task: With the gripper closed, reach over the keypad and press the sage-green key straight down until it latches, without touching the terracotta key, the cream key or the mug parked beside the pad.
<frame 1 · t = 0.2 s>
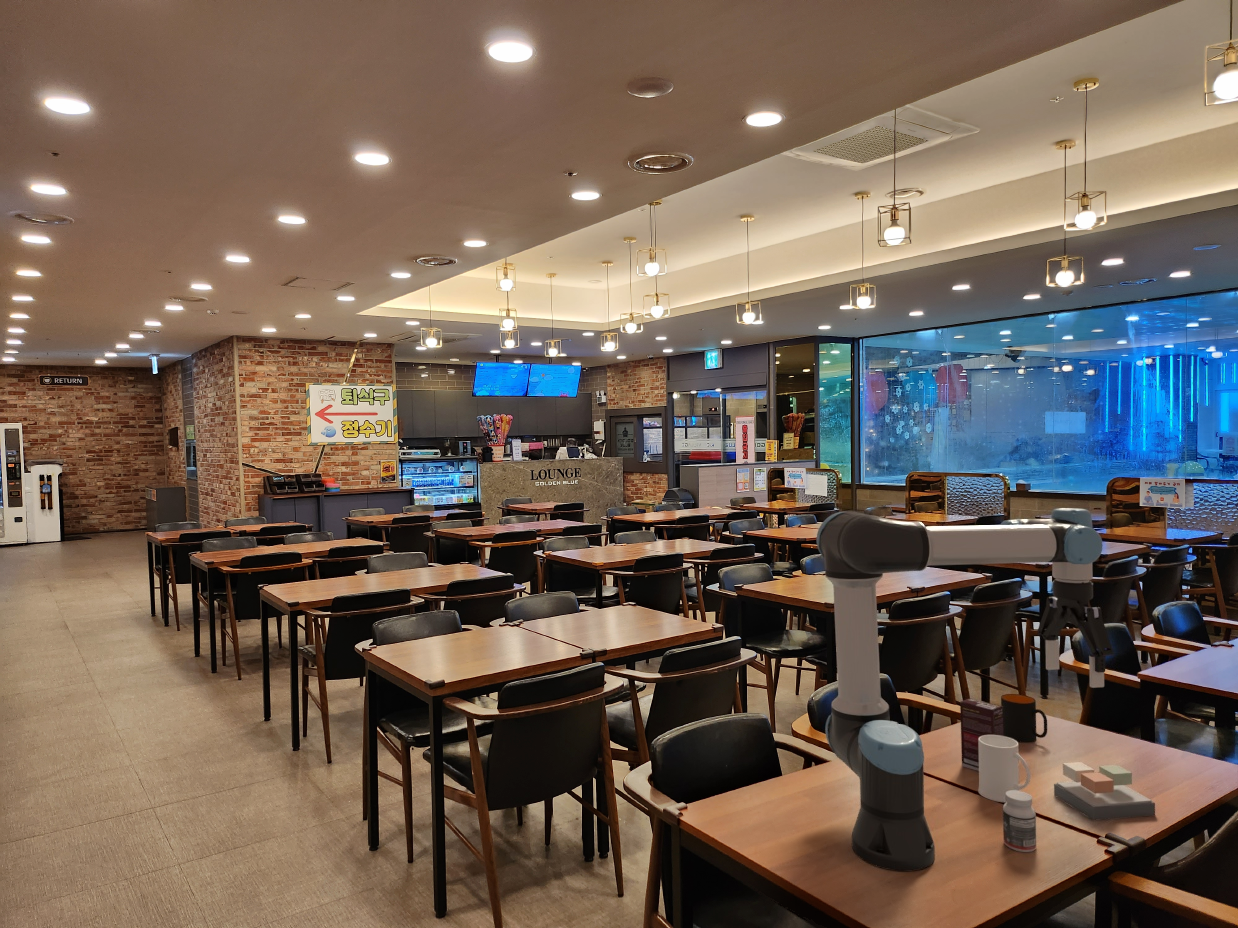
hand: (1073, 677, 168), 27 cm above the table, fingers open, 13 cm apart
mug 2: (1025, 739, 205), on the table
cream key: (1078, 777, 169), point 5 cm above the table, slide at 0.0 cm
sage key: (1115, 780, 167), point 5 cm above the table, slide at 0.0 cm
pill bottle: (1019, 846, 151), on the table
mug: (1005, 797, 172), on the table
supplement box: (982, 769, 187), on the table
keypad: (1103, 804, 167), on the table
terracotta key: (1097, 788, 163), point 5 cm above the table, slide at 0.0 cm
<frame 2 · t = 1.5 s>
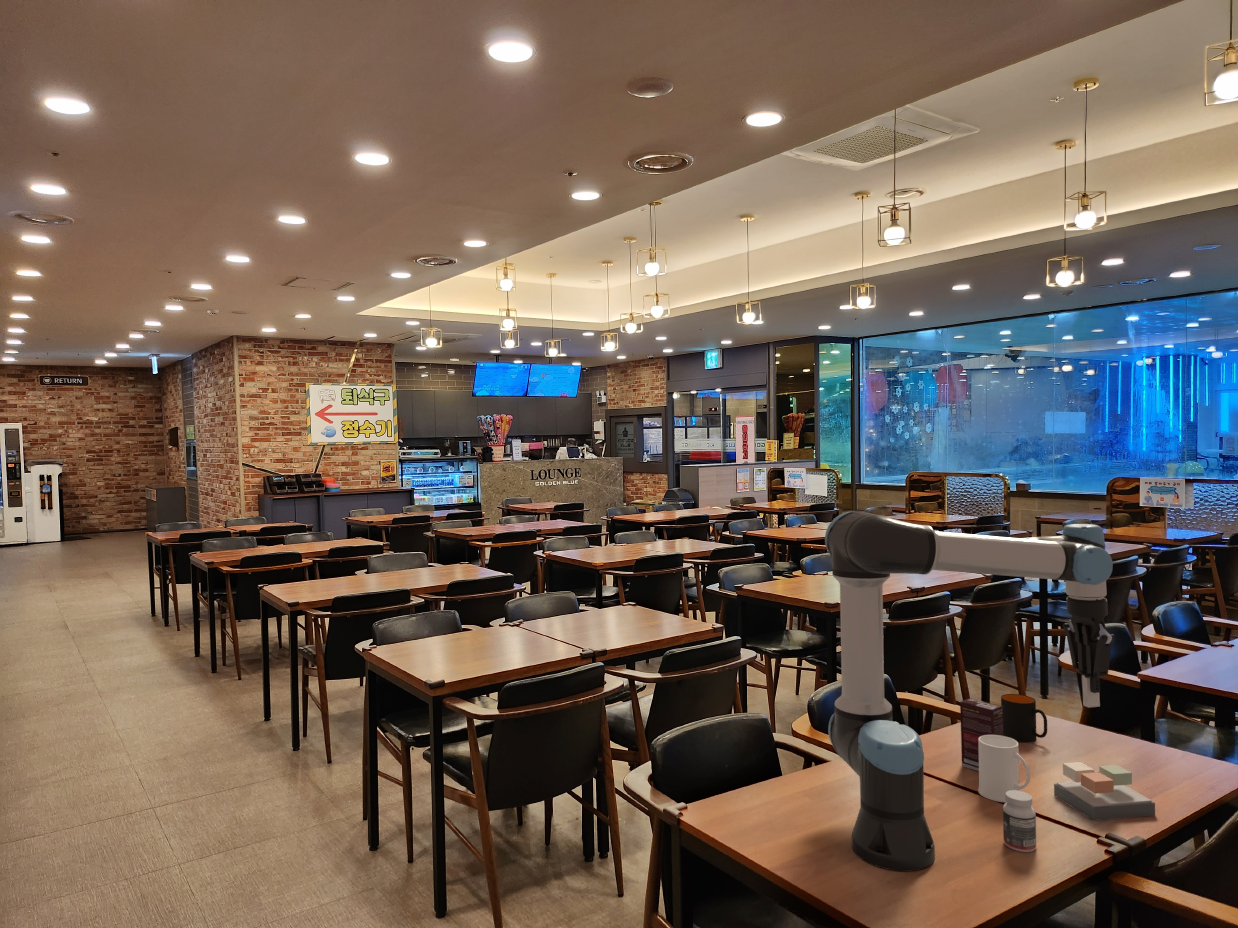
hand: (1091, 705, 166), 22 cm above the table, fingers closed
nothing on the table moved.
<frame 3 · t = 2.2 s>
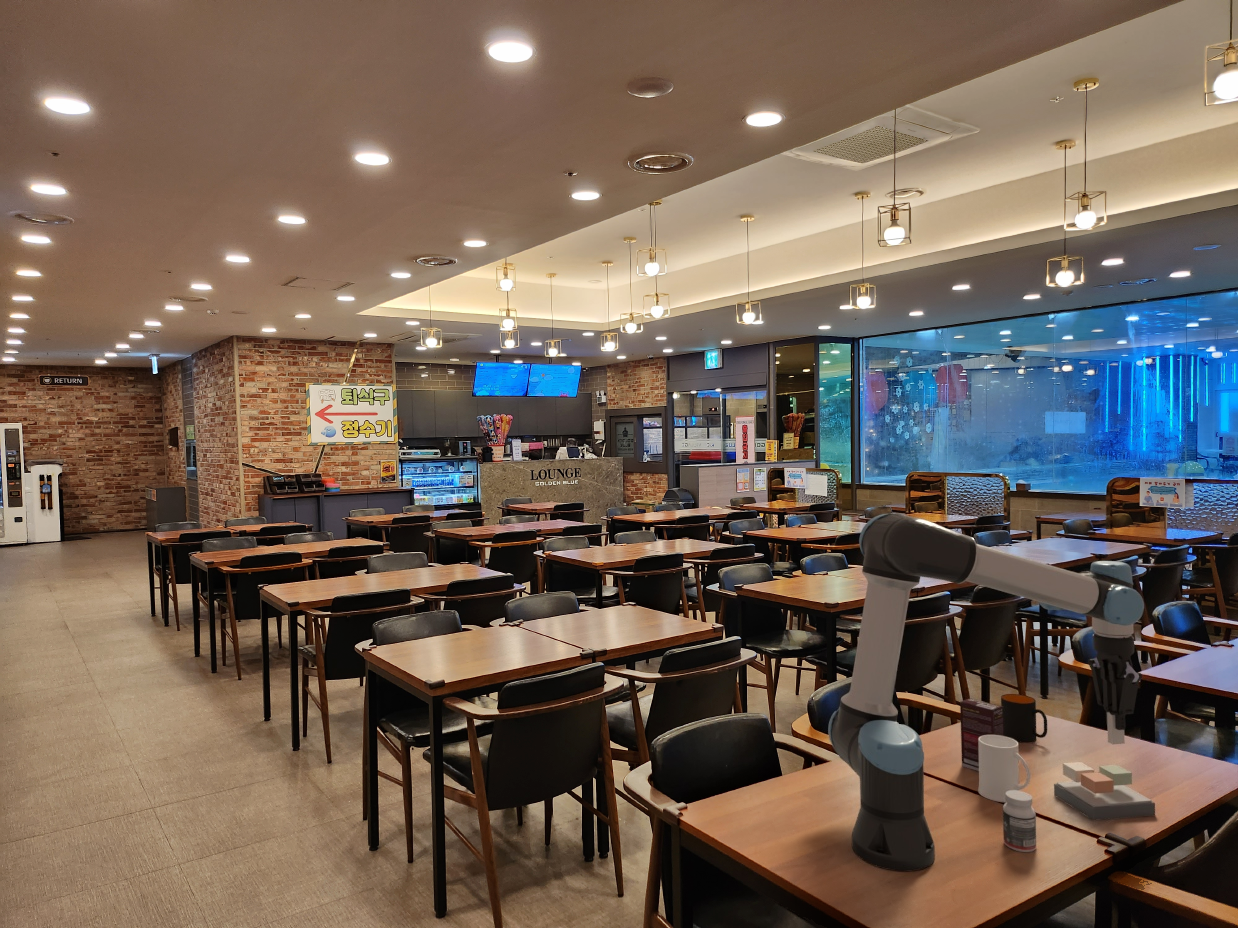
hand: (1116, 742, 167), 13 cm above the table, fingers closed
nothing on the table moved.
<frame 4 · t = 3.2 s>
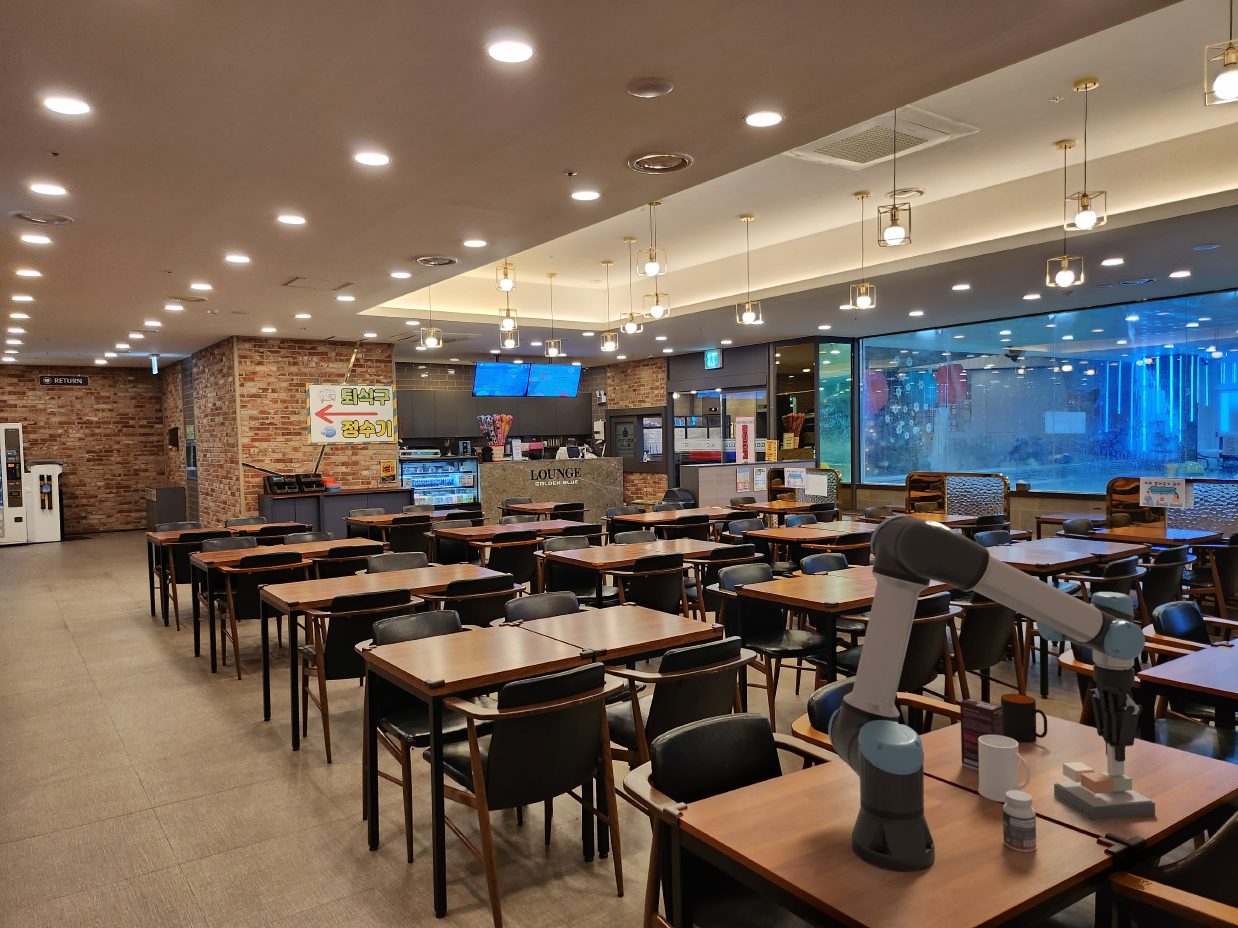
hand: (1115, 773, 167), 7 cm above the table, fingers closed
sage key: (1115, 786, 167), point 4 cm above the table, slide at 1.2 cm, touching gripper
everything else where it was.
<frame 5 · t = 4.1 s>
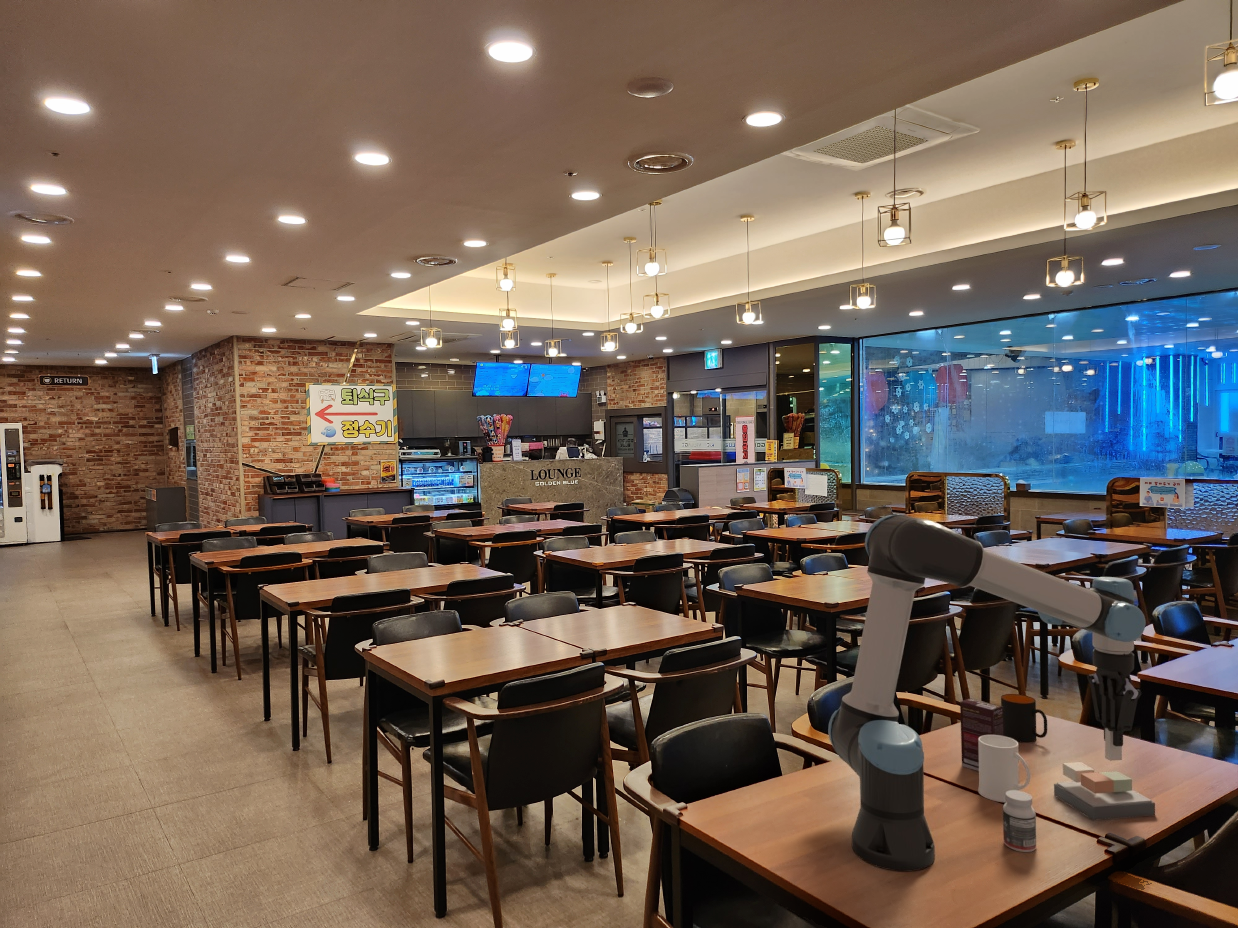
hand: (1113, 758, 167), 10 cm above the table, fingers closed
sage key: (1115, 787, 167), point 4 cm above the table, slide at 1.4 cm
everything else where it was.
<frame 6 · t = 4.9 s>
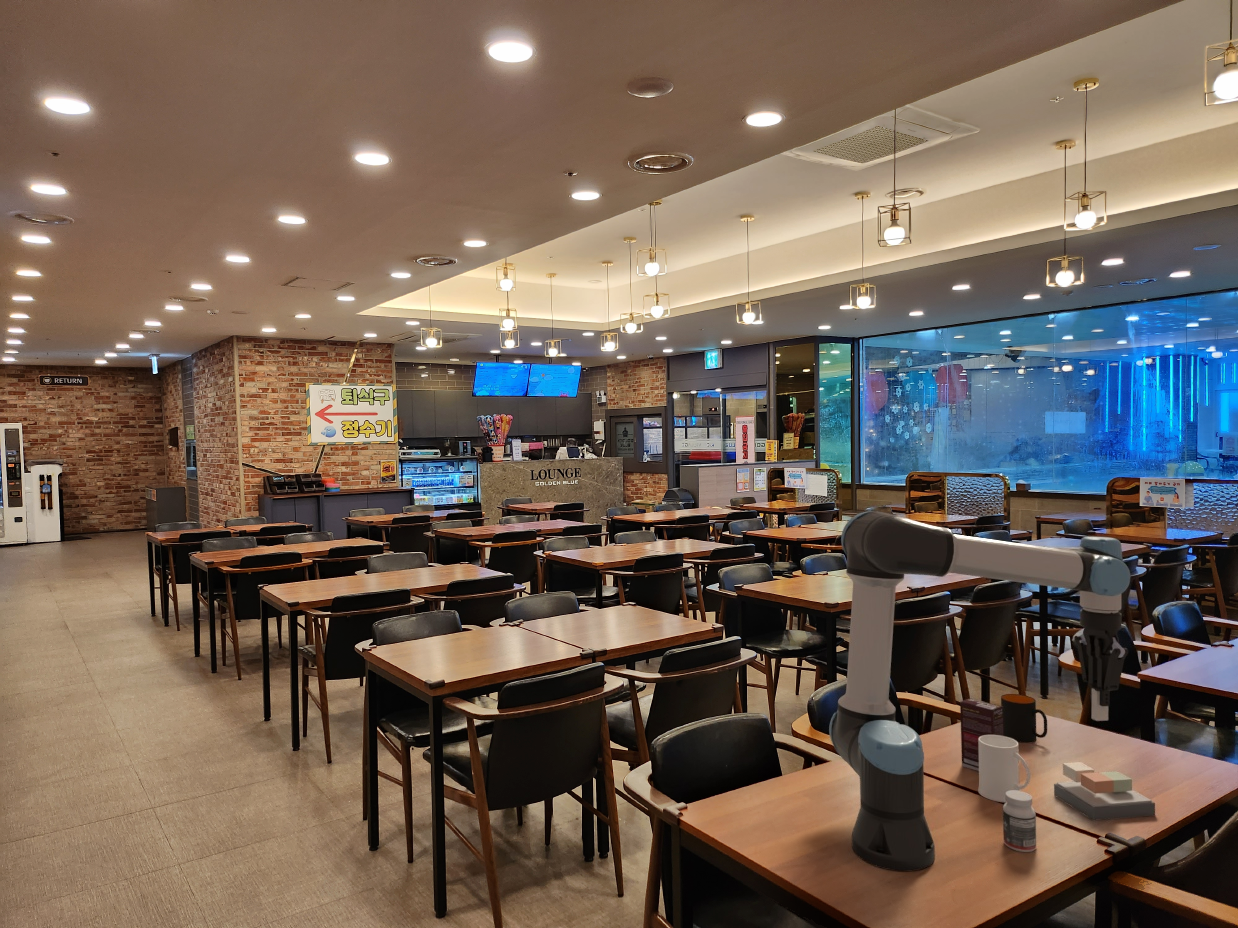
hand: (1099, 719, 166), 19 cm above the table, fingers closed
nothing on the table moved.
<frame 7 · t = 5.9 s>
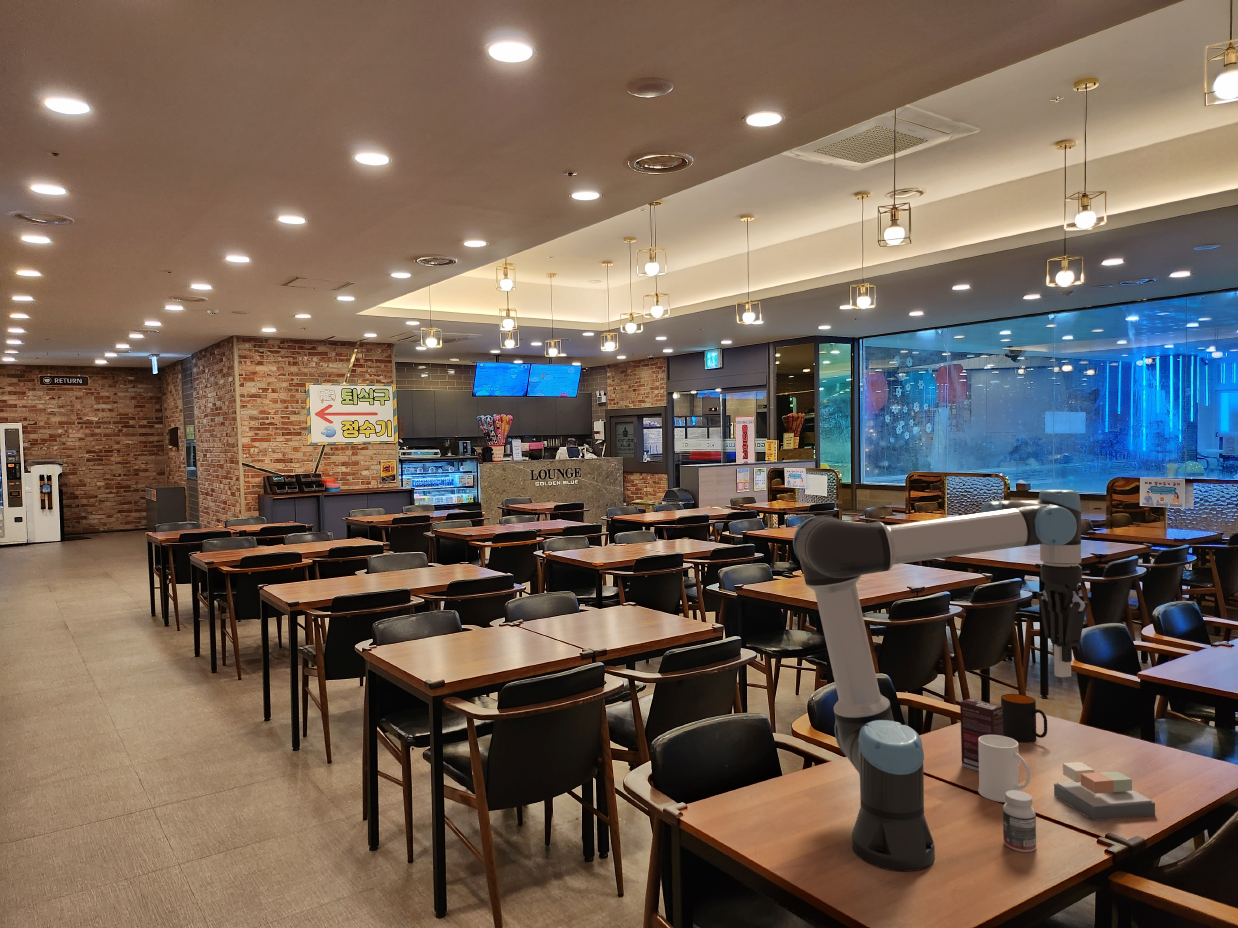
hand: (1062, 675, 162), 29 cm above the table, fingers closed
nothing on the table moved.
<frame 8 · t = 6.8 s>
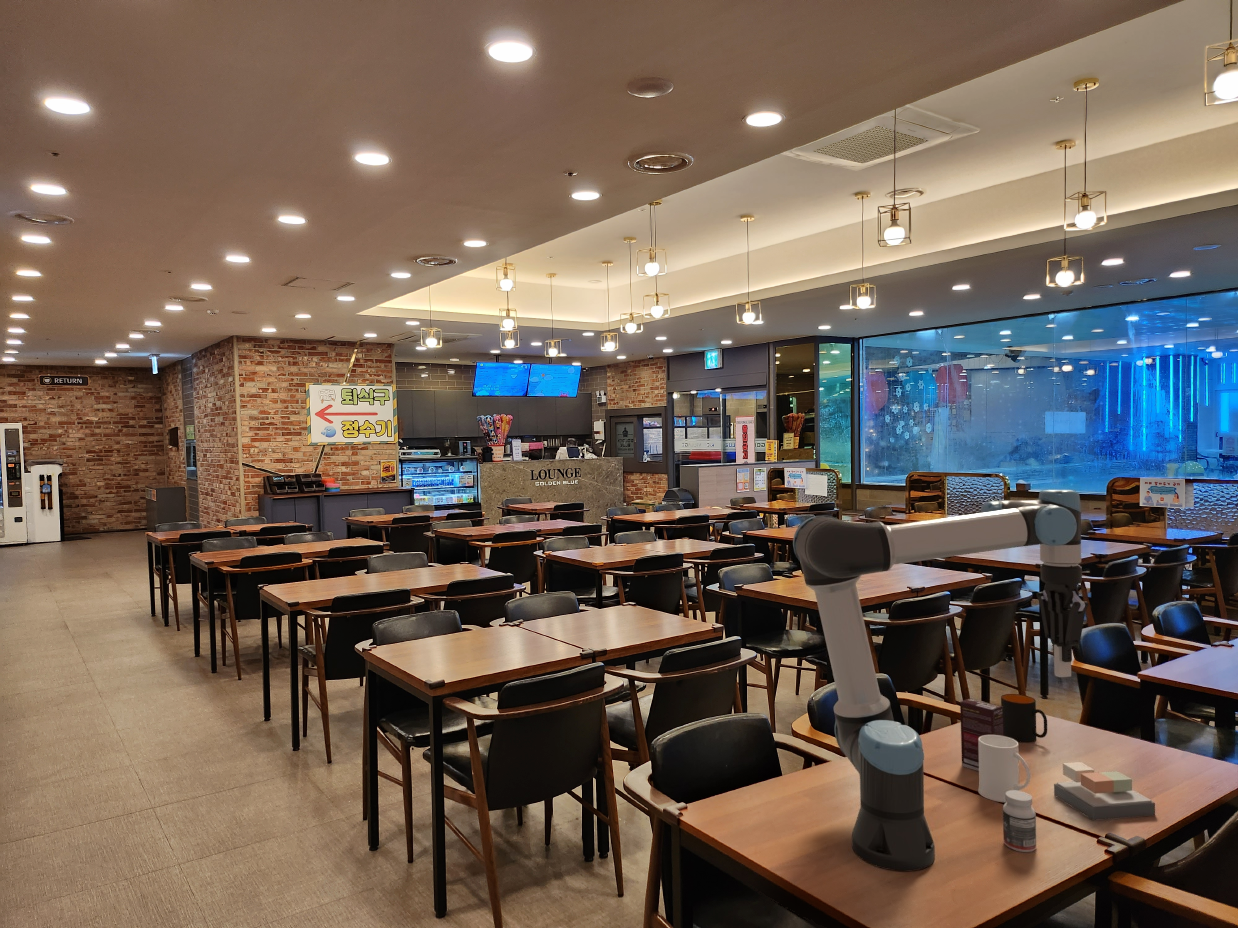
hand: (1062, 675, 162), 29 cm above the table, fingers closed
nothing on the table moved.
at the end: sage key slide at 1.4 cm; terracotta key slide at 0.0 cm; cream key slide at 0.0 cm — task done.
